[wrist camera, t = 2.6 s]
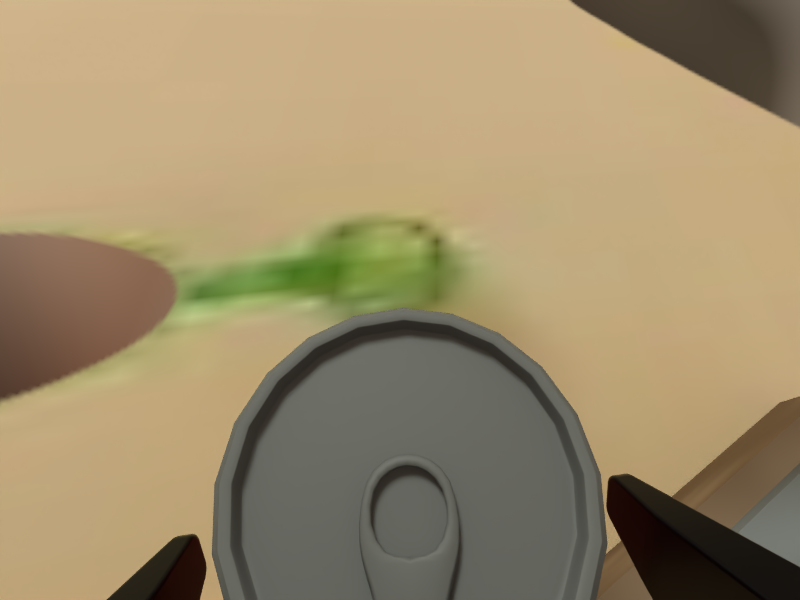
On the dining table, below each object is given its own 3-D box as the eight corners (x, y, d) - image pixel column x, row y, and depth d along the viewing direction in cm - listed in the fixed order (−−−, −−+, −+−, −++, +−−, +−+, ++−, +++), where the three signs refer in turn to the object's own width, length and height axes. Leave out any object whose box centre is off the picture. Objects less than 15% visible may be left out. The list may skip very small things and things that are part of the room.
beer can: (317, 608, 15) (95, 839, 4) (329, 423, 18) (220, 284, 7) (497, 603, 15) (739, 821, 4) (477, 419, 18) (583, 276, 7)
